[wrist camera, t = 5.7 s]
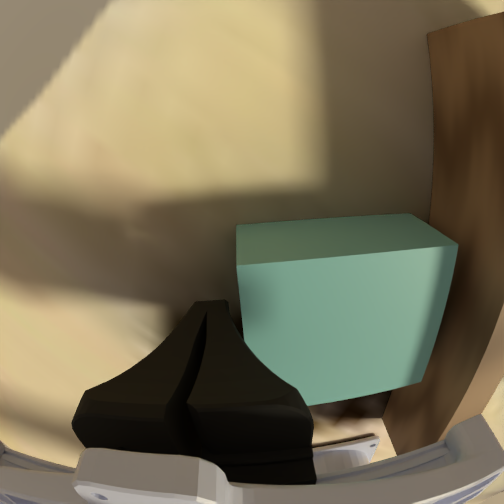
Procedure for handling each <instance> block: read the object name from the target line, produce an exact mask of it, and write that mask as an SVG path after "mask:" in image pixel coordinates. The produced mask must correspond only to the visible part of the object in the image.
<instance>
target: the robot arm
mask: <svg viewBox="0 0 504 504" xmlns="http://www.w3.org/2000/svg"><path fill="white" fill-rule="evenodd" d="M72 429H73V431H74V432H75V434H76V436H77V437H78V439H79V440H80V441H81V442H82V444H83V445H84V446H85V447H86V449H85V450H84V451H83V452H82V453H81V455H80V458H79V461H78V464H77V467H76V468H72V467H68V466H64V465H60V464H56V463H52V462H49V461H45V460H42V459H39V458H35V457H32V456H29V455H26V454H23V453H20V452H17V451H14V450H11V449H9V448H6V447H5V446H4V444H3V443H2V442H1V441H0V504H464V503H466V502H468V501H469V500H471V499H473V498H475V497H477V496H478V495H479V494H480V493H481V492H482V491H483V490H485V489H486V488H487V487H488V486H489V485H490V484H491V483H492V482H493V481H494V480H495V479H496V478H497V477H498V476H499V475H500V474H501V473H502V472H503V471H504V450H503V449H502V447H501V445H500V443H499V442H498V440H497V438H496V437H495V435H494V433H493V432H492V430H491V428H490V427H489V425H488V424H487V422H486V420H485V419H484V417H483V416H482V414H478V415H476V416H474V417H472V418H469V419H467V420H465V421H462V422H460V423H458V424H456V425H455V426H453V427H452V428H451V429H450V430H449V431H448V433H447V434H446V436H445V439H444V440H442V441H439V442H436V443H434V444H431V445H428V446H426V447H423V448H420V449H417V450H414V451H411V452H408V453H405V454H402V455H399V456H395V457H392V458H389V459H385V460H381V461H378V462H374V463H370V461H371V459H372V457H373V455H374V453H375V450H376V448H377V446H378V444H379V441H380V438H379V436H371V437H367V438H363V439H358V440H354V441H349V442H344V443H339V444H334V445H328V446H323V447H317V448H312V445H311V444H312V437H313V430H314V424H313V419H312V416H311V413H310V411H309V409H308V407H307V405H306V403H305V401H304V399H303V398H302V396H301V394H300V393H299V391H298V390H297V388H295V387H293V386H292V385H290V384H289V383H287V382H285V381H284V380H282V379H281V378H280V377H278V376H277V375H276V374H275V373H273V372H272V371H271V370H270V369H269V368H268V367H267V366H265V365H264V364H263V363H262V362H261V361H260V360H259V359H258V358H257V357H256V355H255V354H254V353H253V352H252V351H251V350H250V348H249V347H248V346H247V344H246V343H245V341H244V340H243V338H242V337H241V335H240V334H239V332H238V330H237V328H236V326H235V324H234V322H233V320H232V318H231V315H230V312H229V305H228V302H227V301H226V300H213V301H198V302H195V303H194V304H193V306H192V307H191V308H190V310H189V311H188V312H187V314H186V315H185V316H184V318H183V319H182V320H181V321H180V323H179V324H178V325H177V326H176V328H175V329H174V330H173V331H172V332H171V333H170V335H169V336H168V337H167V338H166V339H165V340H164V341H163V342H162V343H161V344H160V345H159V346H158V347H157V348H156V349H155V350H154V351H152V352H151V353H150V354H149V355H148V356H146V357H145V358H144V359H142V360H141V361H140V362H138V363H137V364H135V365H134V366H133V367H131V368H130V369H128V370H127V371H125V372H123V373H122V374H120V375H118V376H116V377H115V378H113V379H111V380H109V381H107V382H105V383H102V384H100V385H98V386H95V387H93V388H91V389H88V390H86V391H85V392H84V394H83V396H82V398H81V400H80V403H79V405H78V407H77V410H76V412H75V415H74V417H73V420H72Z"/></svg>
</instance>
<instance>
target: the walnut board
mask: <svg viewBox="0 0 504 504" xmlns="http://www.w3.org/2000/svg"><path fill="white" fill-rule="evenodd" d="M427 38H428V46H429V54H430V63H431V74H432V88H433V108H434V161H433V182H432V196H431V207H430V217H429V225H430V226H431V227H433V228H435V229H436V230H438V231H439V232H441V233H442V234H444V235H445V236H447V237H448V238H450V239H451V240H453V241H454V242H456V243H457V244H458V251H457V257H456V262H455V267H454V272H453V276H452V281H451V285H450V290H449V294H448V298H447V302H446V306H445V310H444V313H443V317H442V321H441V324H440V328H439V331H438V334H437V337H436V341H435V344H434V347H433V350H432V353H431V356H430V359H429V362H428V365H427V367H426V370H425V373H424V376H423V378H422V381H421V382H419V383H415V384H411V385H408V386H404V387H400V388H396V389H392V392H391V395H390V398H389V401H388V403H387V406H386V409H385V412H384V414H383V417H382V420H383V422H384V425H385V427H386V430H387V432H388V434H389V437H390V439H391V442H392V444H393V447H394V449H395V452H396V454H397V456H399V455H402V454H405V453H408V452H411V451H414V450H417V449H420V448H423V447H426V446H428V445H431V444H434V443H436V442H439V441H442V440H444V439H445V436H446V434H447V433H448V431H449V430H450V429H451V428H452V427H453V426H455V425H456V424H458V423H460V422H462V421H465V420H467V419H469V418H472V417H474V416H476V415H478V414H481V413H482V412H483V410H484V408H485V407H486V405H487V404H488V402H489V400H490V398H491V397H492V395H493V393H494V392H495V390H496V388H497V386H498V384H499V383H500V381H501V379H502V377H503V375H504V12H501V13H497V14H493V15H489V16H485V17H481V18H477V19H473V20H470V21H466V22H463V23H459V24H456V25H453V26H449V27H446V28H443V29H440V30H437V31H434V32H431V33H428V34H427Z"/></svg>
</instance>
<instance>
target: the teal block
mask: <svg viewBox="0 0 504 504" xmlns="http://www.w3.org/2000/svg"><path fill="white" fill-rule="evenodd" d="M457 251H458V244H457V243H456V242H454V241H453V240H451V239H450V238H448V237H447V236H445V235H444V234H442V233H441V232H439V231H438V230H436V229H435V228H433V227H431V226H430V225H428V224H427V223H425V222H424V221H422V220H420V219H419V218H417V217H416V216H414V215H412V214H411V213H404V214H385V215H367V216H351V217H335V218H320V219H306V220H292V221H279V222H266V223H254V224H242V225H236V267H237V277H238V286H239V296H240V305H241V314H242V323H243V332H244V341H245V343H246V344H247V346H248V347H249V348H250V350H251V351H252V352H253V353H254V354H255V355H256V357H257V358H258V359H259V360H260V361H261V362H262V363H263V364H264V365H265V366H267V367H268V368H269V369H270V370H271V371H272V372H273V373H275V374H276V375H277V376H278V377H280V378H281V379H282V380H284V381H285V382H287V383H289V384H290V385H292V386H293V387H295V388H297V390H298V391H299V393H300V394H301V396H302V398H303V399H304V401H305V403H306V405H307V406H309V405H316V404H323V403H329V402H335V401H340V400H346V399H351V398H356V397H361V396H366V395H371V394H375V393H380V392H384V391H388V390H392V389H396V388H400V387H404V386H408V385H411V384H415V383H419V382H421V381H422V378H423V376H424V373H425V370H426V367H427V365H428V362H429V359H430V356H431V353H432V350H433V347H434V344H435V341H436V337H437V334H438V331H439V328H440V324H441V321H442V317H443V313H444V310H445V306H446V302H447V298H448V294H449V290H450V285H451V281H452V276H453V272H454V267H455V262H456V257H457Z"/></svg>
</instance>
